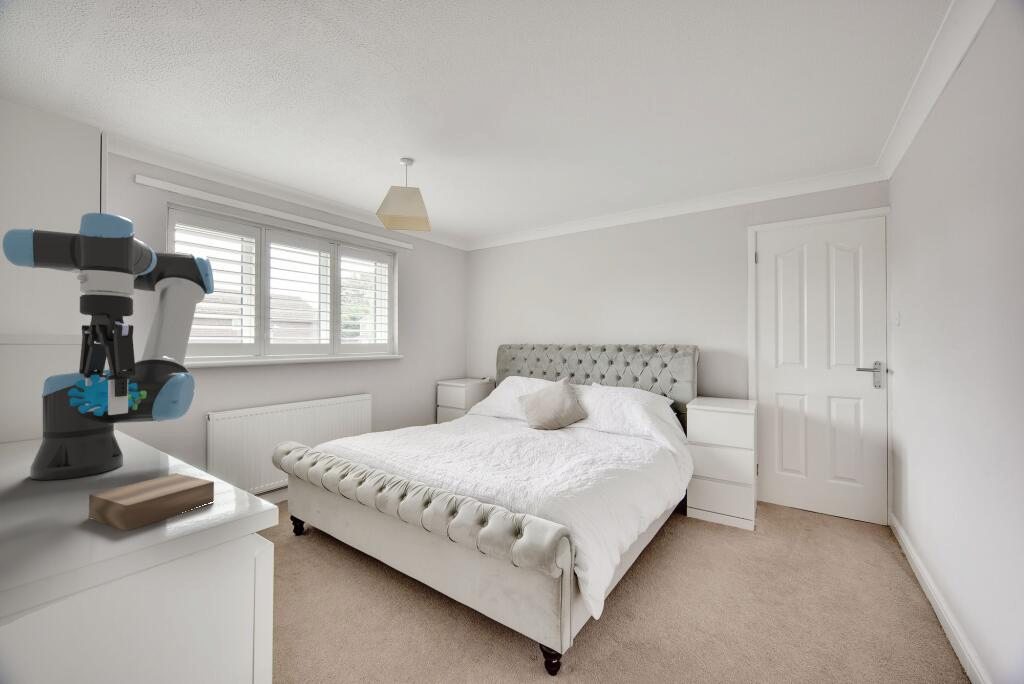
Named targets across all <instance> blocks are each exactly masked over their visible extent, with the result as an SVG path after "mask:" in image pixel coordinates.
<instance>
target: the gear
mask: <svg viewBox="0 0 1024 684" xmlns="http://www.w3.org/2000/svg"><path fill="white" fill-rule="evenodd" d="M108 376H111V374H110V373H109V374H107V377H108ZM90 380H91V381H92V382H93V384H92V385H91V386H86V381H85V380H80V381H77V382H76V386H77V387H80V388H82V389H84V390H85V392H79V391H78V390H77V389H76V388H72V389H70V390H69V392H68V395H69V396H79V397H82V398H84V399H78V398H70V405H71V406H76V405H78V404H90V405H81V406H79V407H78V409H79V411H80V412H81V413H86V412H87V411H89V410H90V409H92V408H95V407H101V408H98V409H95V410H94V415H97V416H102V415H103V412H106V411H108V380H107V379H105V380H104V381H102V382H97V381H99V380H100V376H99V375H91V376H90ZM128 383H129V379H128ZM128 389H130V390H137V383H132V384H129V385H128ZM146 393H147V392H146V391H140V395H139V392H130V391H128V408H129V407H131V406H133V408H132V409H133V410H136V409H137V404H139V403H140V402H141V399H144V398H146Z"/></svg>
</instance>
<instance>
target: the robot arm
mask: <svg viewBox="0 0 1024 684" xmlns="http://www.w3.org/2000/svg"><path fill="white" fill-rule="evenodd" d="M135 235H136V233H135V231H134V223H133V221H131V220H130V219H128V218H126V217H123V216H121V215H116V214H110V213H102V212H87V213H85V214H83V215H81V218H80V226H79V231H78V233H74V232H73V233H72V232H62V231H50V230H40V229H34V228H29V229H27V228H25V229H24V228H13V229H9V230H8V231H6V233H5V234H4V236H3V237H2V251H3V254H4V256H5V258H6V259H7V261H8V262H10V264H12V265H14V266H18V267H27V268H32V269H35V268H37V269H39V268H41V269H50V270H51V269H52V270H56V271H64V272H68V273H75V274H78V275H77V276H76V279H77V280H78V281H80V284H79V287H80V288H79V291H81V292H82V293H84V294H82V295H81V296H79V313H80V314H81V315H85V316H91V319H90V320H91V321H90V324H82V326H81V346H80V347H81V348H80V349H81V350H80V360H79V369H78V372H70V373H63V374H55V375H54V374H53V375H51V376H48V377H47V378H46V379H45V380H44V382H43V387H42V389H43V390H42V395H41V398H42V440H41V444H40V446H39V448H38V450H37V452H36V454H35V456H34V459H33V461H32V464H31V466H30V469H29V470H30V471H29V473H30V475H29V478H30V479H32V480H36V479H37V480H42V481H46V480H47V481H48V480H49V481H50V480H52V481H53V480H63V479H73V478H79V477H85V476H91V475H95V474H101V473H104V472H108V471H111V470H114V469H117V468H120V467H122V466H123V465H124V454H123V452H122V450H121V449H122V448H121V447H120V444H119V443H118V440H117V438H116V436H115V432H114V431H115V428H114V427H115V426H114V425H115V424H126V423H141V422H143V423H144V422H145V423H146V422H164V421H170V420H173V421H174V420H177V419H180V418H182V417H183V416H185V415H186V414H187V412H188V411H189V409H190V407H191V405H192V402H193V399H194V393H195V392H194V391H195V385H196V384H195V378H194V376H193V375H192V374H191V373H189V369H188V368H187V367H186V366H185V365H184V363H185V358H186V353H187V350H188V349H187V348H188V344H189V339H190V335H191V331H192V327H193V322H194V321H193V320H194V317H195V314H196V313H195V312H196V308H197V304H199V303H201V302H203V300H204V299H205V297H206V296H205V295H210V294H213V293H214V290H215V282H214V273H213V269H212V264H211V261H210V260H209V257H207V256H205V255H201V254H194V253H189V254H187V253H175V252H165V251H164V252H162V251H154V250H153V249H152V248H151V247H150V246H149V245H148V244H147V243H146V242H143V241H141V240H139V239H136V238H135ZM134 290H138V291H145V292H155V293H156V294H157V295H158V299H157V304H156V307H155V311H154V314H153V318H152V321H151V324H150V328H149V331H148V336H147V338H146V342H145V346H144V348H143V349H144V350H143V351H142V352H143V353H142V357H141V359H139V360H137V361H135V359H136V358H135V350H134V347H135V346H134V339H133V338H134V325H133V324H131V323H130V324H127V323H125V322H124V317H132V316H133V314H134V299H133V298H132V297H130V296H132V295H134ZM106 362H107V363H108V368H106V369H105V367H106V366H105V365H106ZM109 373H110V374H111V376H108V377H107V374H109ZM91 375H99V376H100V380H99V381H97V382H102V381H104V380H105V379H107V380H108V411H106V412H103V415H102V416H97V415H94V410H95V409H98V408H101V407H95V408H92V409H90V410H89V411H87V412H86V413H81V412H80V411H79V409H78V407H79V406H81V405H90V404H78V405H76V406H71V405H70V398H78V399H84V398H82V397H79V396H69V395H68V392H69V390H70V389H72V388H76V389H77V390H78V391H79V392H85V390H84V389H82V388H80V387H77V386H76V382H77V381H80V380H85V381H86V386H91V385H92V384H93V382H92V381H91V380H90V376H91ZM128 379H129V383H128ZM132 383H137V390H130V389H128V385H129V384H132ZM128 391H130V392H139V395H140V391H146V392H147V393H146V398H144V399H141V402H140V403H139V404H137V409H136V410H133V409H132V408H133V406H131V407H129V408H128Z"/></svg>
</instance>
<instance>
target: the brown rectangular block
mask: <svg viewBox="0 0 1024 684" xmlns="http://www.w3.org/2000/svg"><path fill="white" fill-rule="evenodd" d="M213 501H214V502H215V482H214V481H213V480H210V479H209V480H207V479H204V478H199V477H195V476H190V475H187V474H186V475H185V474H181V473H172V474H169V475H165V476H161V477H156V478H152V479H147V480H143V481H140V482H135V483H132V484H127V485H123V486H119V487H118V486H117V487H114V488H110V489H106V490H102V491H101V490H100V491H98V492H94V493H89V495H88V519H90V518H92V519H91V520H93V519H94V520H93V521H96V520H97V521H96V522H99V523H102V524H105V525H106V526H107V525H108V526H111V527H113V528H116V529H119V530H122V531H125V532H128V531H131V530H135V529H137V528H141V527H143V526H147V525H150V524H153V523H157V522H159V521H163V520H165V519H166V520H167V519H169V518H172V517H175V516H174V515H176V516H178V515H177V514H179V515H181V514H180V513H182V512H185V511H188V510H191V509H194V508H196V507H199V506H202V505H204V504H208V503H210V502H213ZM194 510H195V509H194ZM191 511H192V510H191ZM188 512H189V511H188ZM185 513H186V512H185ZM182 514H183V513H182ZM171 516H172V517H171Z"/></svg>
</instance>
